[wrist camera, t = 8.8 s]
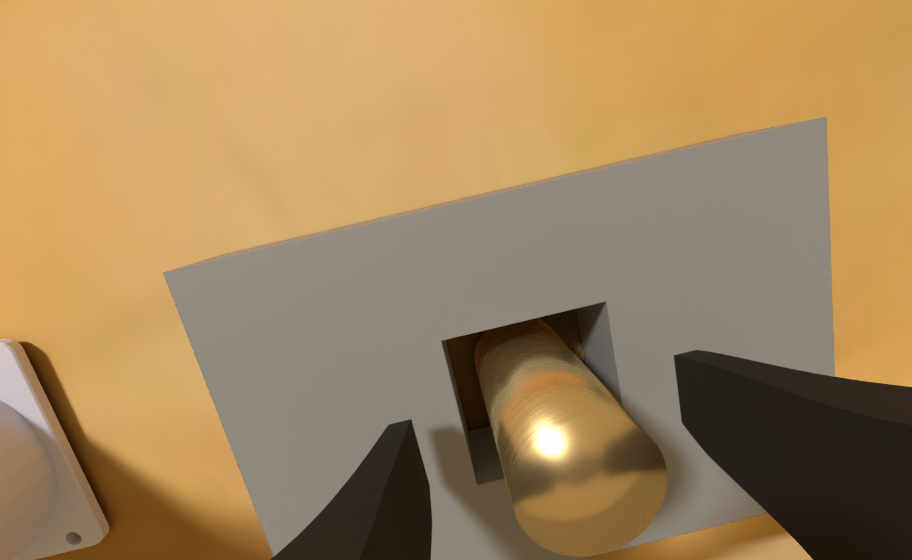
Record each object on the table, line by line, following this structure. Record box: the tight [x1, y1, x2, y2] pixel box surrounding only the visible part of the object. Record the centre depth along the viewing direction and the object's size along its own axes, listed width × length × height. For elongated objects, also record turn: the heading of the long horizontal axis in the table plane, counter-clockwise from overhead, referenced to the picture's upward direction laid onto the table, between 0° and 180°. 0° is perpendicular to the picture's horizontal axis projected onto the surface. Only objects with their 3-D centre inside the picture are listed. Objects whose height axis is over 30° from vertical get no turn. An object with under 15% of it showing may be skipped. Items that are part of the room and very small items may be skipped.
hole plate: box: [163, 117, 835, 560], centre depth 14 cm, size 18×12×3 cm, turn 103°
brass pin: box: [474, 318, 668, 557], centre depth 12 cm, size 3×3×7 cm
